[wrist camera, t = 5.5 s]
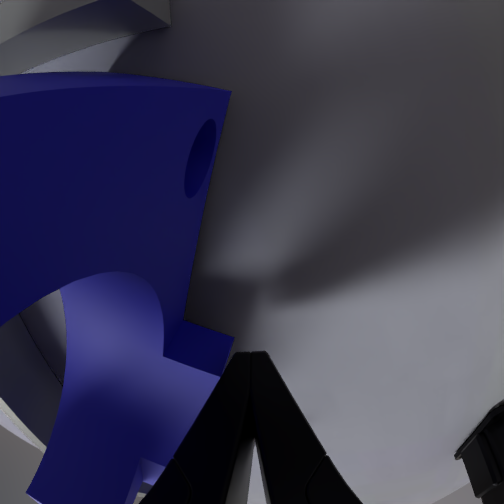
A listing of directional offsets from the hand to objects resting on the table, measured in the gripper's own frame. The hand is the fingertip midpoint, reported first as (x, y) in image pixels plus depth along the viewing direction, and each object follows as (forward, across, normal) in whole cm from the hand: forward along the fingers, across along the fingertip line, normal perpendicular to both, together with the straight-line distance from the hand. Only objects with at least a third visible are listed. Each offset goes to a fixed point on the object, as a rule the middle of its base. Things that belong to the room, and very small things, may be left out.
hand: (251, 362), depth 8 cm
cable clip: (+2, +2, -1) cm, 3 cm away
